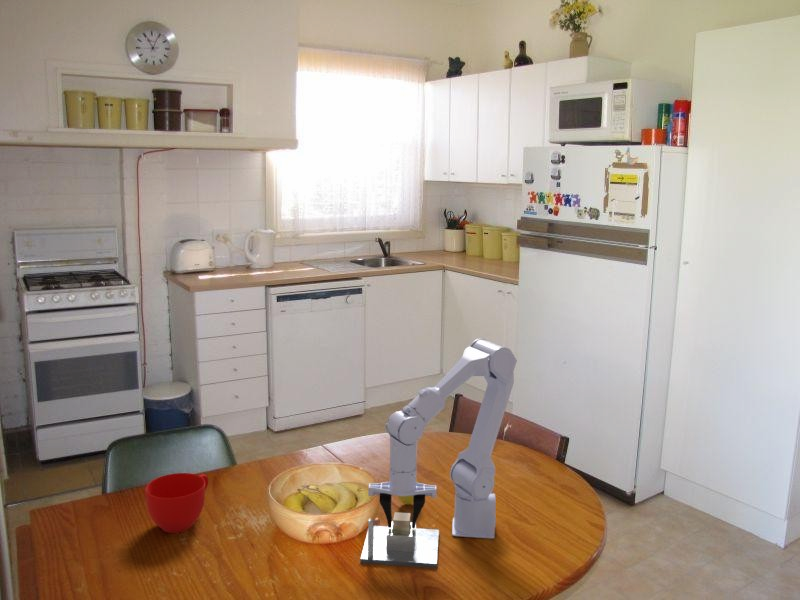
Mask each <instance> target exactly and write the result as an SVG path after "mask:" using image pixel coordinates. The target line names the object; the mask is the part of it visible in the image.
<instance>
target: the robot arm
mask: <svg viewBox="0 0 800 600" xmlns="http://www.w3.org/2000/svg"><path fill="white" fill-rule="evenodd" d="M517 361H518V360H517V358H516V357H515V354H514V353H513V352H512V350H511V348H508V347H506V346H501V345H499V344H497V343H495V342H492V341H489V340H487V339H485V338H483V337H482V338H476V339H474V340H473V341H472V342H471V343H470V345H469V346H467V347H466V348H465V349H464V350H463V353H462V357H461V358H460V359H459V360H458V361H457V362H456V363H455V364H454V365H453V366H452V367H451V369H450V370H448V372H447V373H446V374H445V375H444V376H443V377H442V379H441V380H440V381H438V383H437V384H436V385H435V386H434V387H433V386H432V387H431V386H429V387H428V386H426V387H425V388H424V389H423V388H422V389H420V390H419V391H418V394H417V396H415V397H414V399H412V400H411V401H410V402H409V403H408V404H407V405H405V406H404V407H402V410H398V411H397V410H396V411H395V412H393V413H392V414H391V415H390V416H389V417H388V420H387V423H385V425H384V428H385V430H386V433H388V435H389V442H390V445H389V481H384V482H379V483H376V482H375V483H368V496H369V497H373V496H374V495H376V496H377V495H379V500H378V501H379V504H380V505H381V508H382V509H383V512H384V514H385V518H386V520H387V521H386V522H387V526H388V528H391V527H392V522H393V515H392V514H393V513H392V496H414V497H413V503H412V504H413V505H412V515H411V516H412V517H411V523H412V529H415V525H416V526H417V521H418V518H419V516H420V513H421V511H422V509H423V507H424V506H425V503H426V497H431V499H434V498H437V489H438V488H437V485H435V484H434V485H433V484H432V485H431V484H426V483H420V482H419V483H416V479H417V462H418V461H417V460H418V459H417V457H418V441H420V440H421V438H422V437H423V433H424V430H425V429H426V428H427V424H429V423H430V422H431V421H432V420H433V419H434V418H435V417H436V416H437V415H438V414H439V413H440V412H441V411H442V410H443V409H444V408H445V407H446V406H445V405H446V399H447V398H448V397H450V396H451V394H453V393H454V392H455V391H457V390H458V389H459V388H460V387H462V386H463V385H464V384H466V382H467V381H469V380H470V379H472V377H484V379H485V381H486V382H487V383H486V385H487V386H486V389H485V391H484V395H483V398H482V400H481V404H480V407H479V409H478V410H479V411H478V413H477V417H476V420H475V424H474V427H473V430H472V433H471V437H470V440H469V443H468V446H467V448H465V449H464V450H462V451H460V452H459V453H458V456H457V458H456V460H455V461H454V463H453V464H452V465H451V468H450V471H449V478H450V481H451V482H453V484H454V489H455V492H454V494H455V495H454V517H452V524H451V525H452V526H451V528H452V529H451V535H452V536H453V537H461V538H462V537H464V538H478V539H479V538H480V539H495V529H496V527H495V526H496V525H497V518H496V513H497V511H496V508H497V507H496V505H497V503H496V500H497V499H496V497H497V496H496V493H492V492H493V490H494V487H495V474H496V470H497V469H496V466H495V463H494V461H493V460H492V459H493V458H492V454H493V451H494V447H495V444H496V441H497V438H498V434H499V431H500V428H501V425H502V422H503V418H504V415H505V412H506V408H507V405H508V402H509V401H510V400H509V399H510V396H511V392H512V389H513V386H514V382H515V377H514V376H515V373H514V371H515V368H516V364H517Z"/></svg>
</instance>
